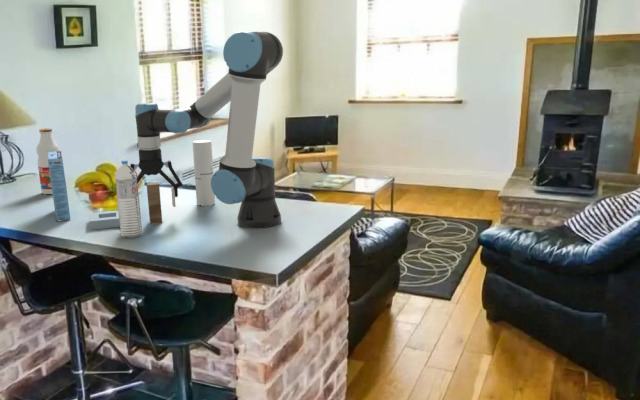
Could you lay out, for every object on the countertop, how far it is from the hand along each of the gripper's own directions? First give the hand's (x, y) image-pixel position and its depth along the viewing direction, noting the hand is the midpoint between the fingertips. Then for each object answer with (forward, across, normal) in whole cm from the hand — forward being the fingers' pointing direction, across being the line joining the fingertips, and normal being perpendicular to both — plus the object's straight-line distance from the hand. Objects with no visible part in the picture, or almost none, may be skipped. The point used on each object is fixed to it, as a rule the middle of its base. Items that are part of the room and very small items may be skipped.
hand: (154, 207), depth 213 cm
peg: (+5, 0, 0) cm, 5 cm away
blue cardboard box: (+6, +32, -25) cm, 41 cm away
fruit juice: (+6, +38, -69) cm, 79 cm away
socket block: (+5, +16, -5) cm, 17 cm away
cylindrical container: (+5, -21, -20) cm, 30 cm away
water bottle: (+5, +9, +14) cm, 18 cm away
